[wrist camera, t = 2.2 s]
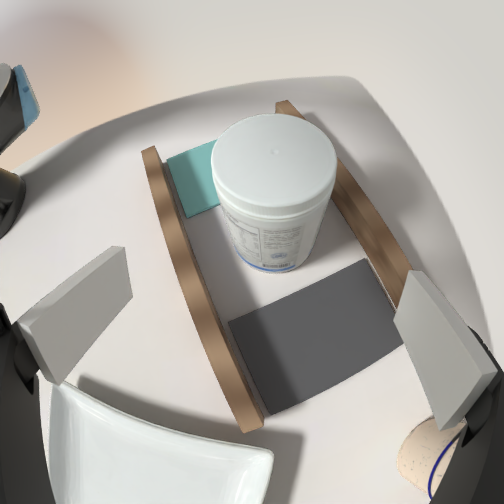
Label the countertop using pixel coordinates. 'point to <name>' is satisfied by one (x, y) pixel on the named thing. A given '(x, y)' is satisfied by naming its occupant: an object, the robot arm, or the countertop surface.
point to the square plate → (144, 459)
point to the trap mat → (317, 336)
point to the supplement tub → (273, 188)
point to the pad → (194, 179)
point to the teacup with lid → (427, 455)
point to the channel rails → (197, 296)
